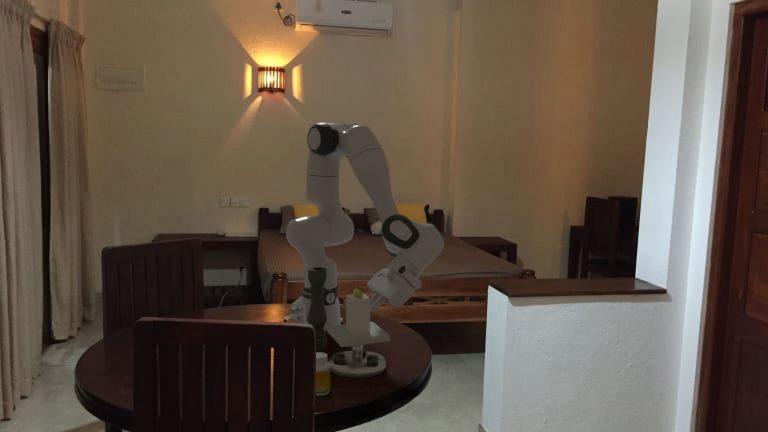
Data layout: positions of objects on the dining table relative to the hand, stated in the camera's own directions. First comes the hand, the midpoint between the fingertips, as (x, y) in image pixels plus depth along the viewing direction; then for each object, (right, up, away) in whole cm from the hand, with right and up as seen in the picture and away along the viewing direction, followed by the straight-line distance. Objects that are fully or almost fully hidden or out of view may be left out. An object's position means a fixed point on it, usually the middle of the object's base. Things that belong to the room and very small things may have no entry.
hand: (370, 308), depth 159 cm
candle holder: (-17, -15, +16) cm, 27 cm away
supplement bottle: (-12, -19, -16) cm, 28 cm away
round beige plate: (-4, -17, +1) cm, 17 cm away
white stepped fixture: (-3, -8, 0) cm, 9 cm away
